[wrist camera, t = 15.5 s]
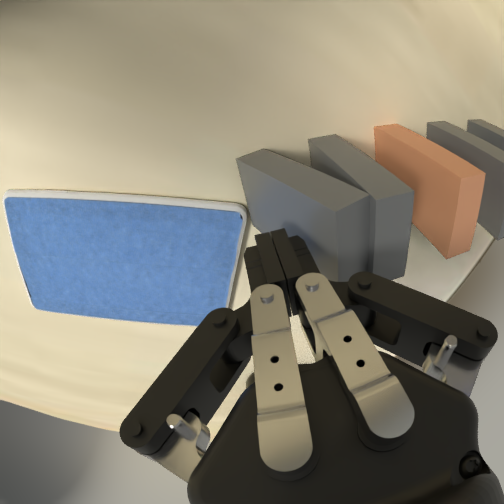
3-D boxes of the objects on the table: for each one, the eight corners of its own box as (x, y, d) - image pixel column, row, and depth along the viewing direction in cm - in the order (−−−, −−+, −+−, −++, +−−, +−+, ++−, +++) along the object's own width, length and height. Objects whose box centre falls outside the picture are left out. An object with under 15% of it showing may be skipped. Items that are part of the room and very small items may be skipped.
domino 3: (376, 188, 21) (446, 259, 14) (374, 126, 18) (461, 178, 11) (397, 183, 21) (469, 250, 14) (396, 123, 18) (485, 173, 11)
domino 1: (252, 225, 21) (338, 299, 14) (236, 158, 18) (335, 212, 11) (276, 213, 22) (367, 280, 15) (263, 148, 19) (369, 194, 12)
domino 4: (424, 179, 21) (497, 240, 14) (426, 122, 18) (513, 169, 11) (441, 176, 21) (513, 233, 14) (444, 121, 18) (529, 166, 11)
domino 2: (316, 203, 22) (371, 286, 14) (307, 139, 19) (375, 200, 11) (341, 197, 22) (404, 276, 14) (335, 134, 19) (414, 191, 11)
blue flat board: (35, 302, 24) (31, 312, 23) (5, 185, 17) (-3, 192, 16) (223, 319, 28) (225, 330, 27) (248, 198, 21) (251, 207, 20)
